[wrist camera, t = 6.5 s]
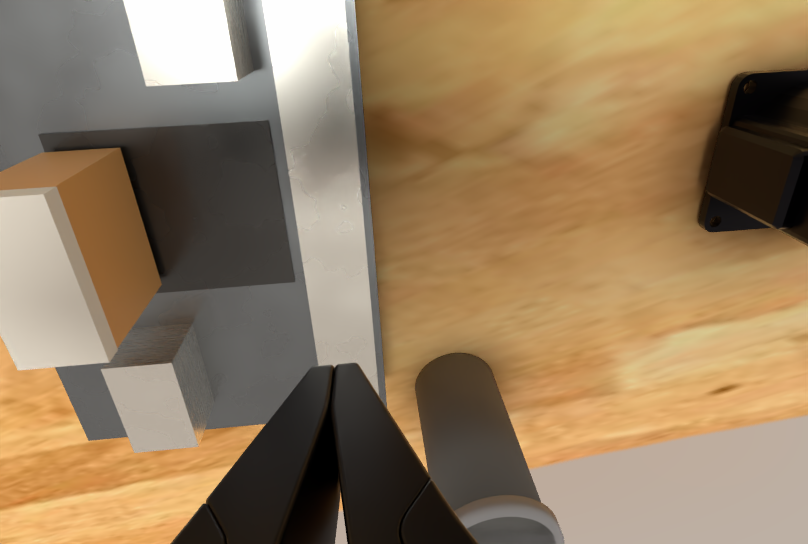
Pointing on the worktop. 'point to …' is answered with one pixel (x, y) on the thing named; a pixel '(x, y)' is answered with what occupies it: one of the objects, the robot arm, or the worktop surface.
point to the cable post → (479, 454)
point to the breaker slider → (71, 258)
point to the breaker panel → (211, 195)
